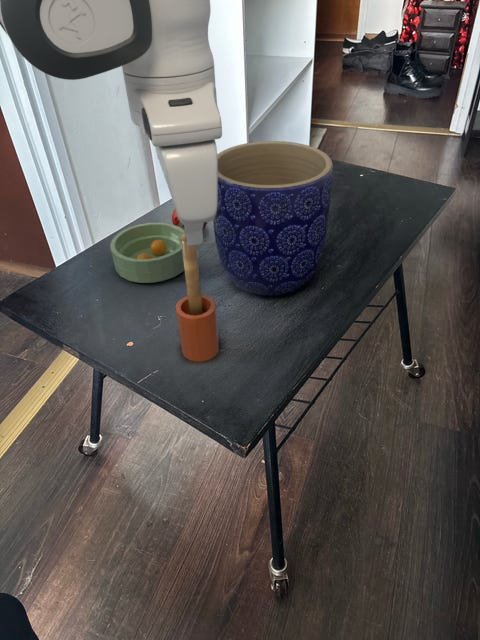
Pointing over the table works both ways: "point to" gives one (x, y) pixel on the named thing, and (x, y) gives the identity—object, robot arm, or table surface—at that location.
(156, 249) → the bead
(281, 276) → the planter
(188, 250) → the stick
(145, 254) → the bead
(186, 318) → the crock
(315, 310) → the table surface
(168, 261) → the bowl
